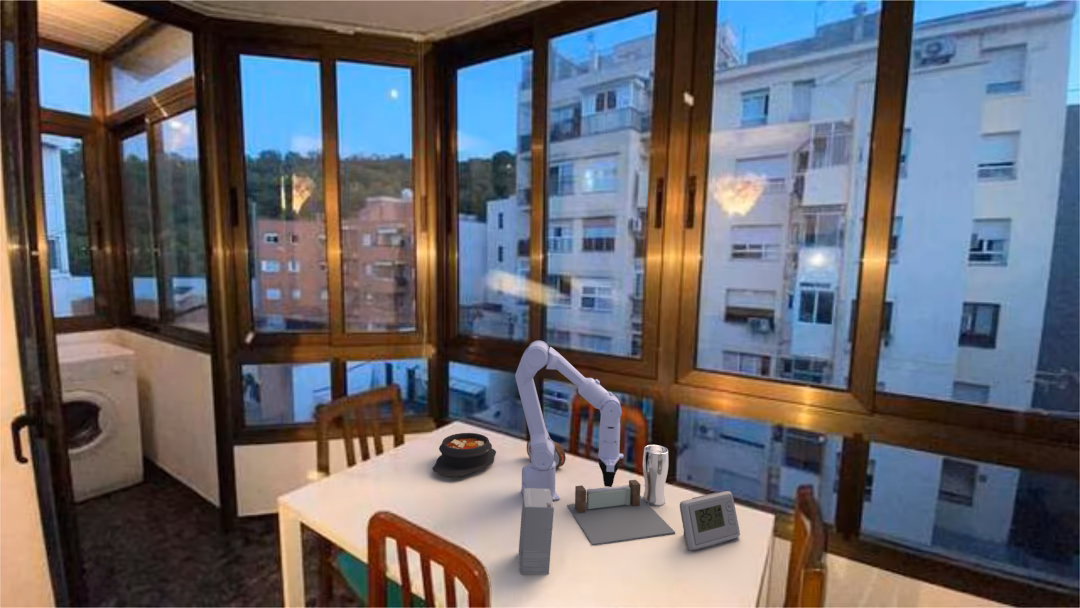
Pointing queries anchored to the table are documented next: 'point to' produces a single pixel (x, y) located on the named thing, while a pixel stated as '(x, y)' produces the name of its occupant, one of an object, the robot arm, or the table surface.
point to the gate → (608, 496)
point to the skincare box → (536, 531)
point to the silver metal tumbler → (655, 473)
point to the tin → (558, 454)
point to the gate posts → (581, 496)
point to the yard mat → (620, 523)
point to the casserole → (464, 454)
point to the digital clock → (709, 520)
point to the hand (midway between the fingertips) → (608, 485)
